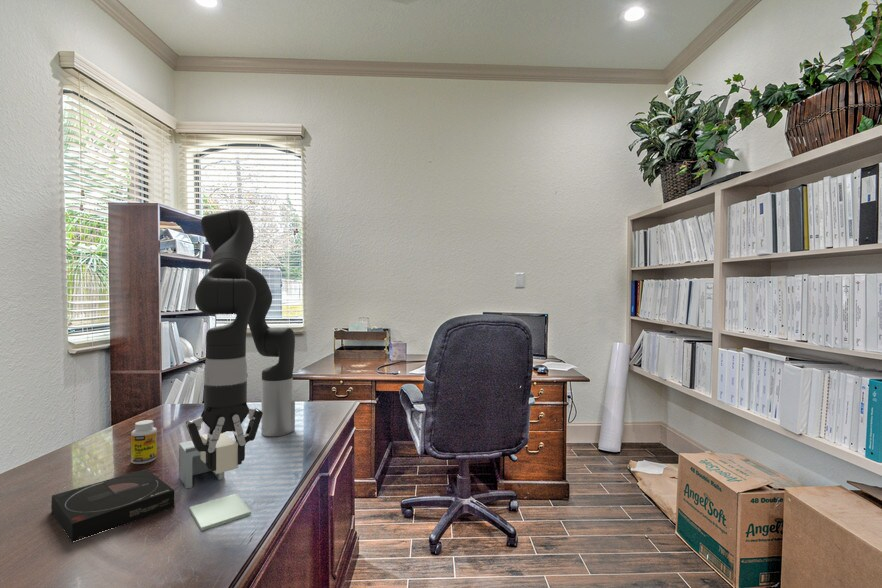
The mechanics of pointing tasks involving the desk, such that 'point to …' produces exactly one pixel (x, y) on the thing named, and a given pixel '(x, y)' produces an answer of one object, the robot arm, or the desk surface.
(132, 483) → the portable cd player
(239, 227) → the robot arm
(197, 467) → the dispenser
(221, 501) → the mat
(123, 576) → the desk surface
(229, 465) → the beige rectangular block
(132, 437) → the supplement bottle
